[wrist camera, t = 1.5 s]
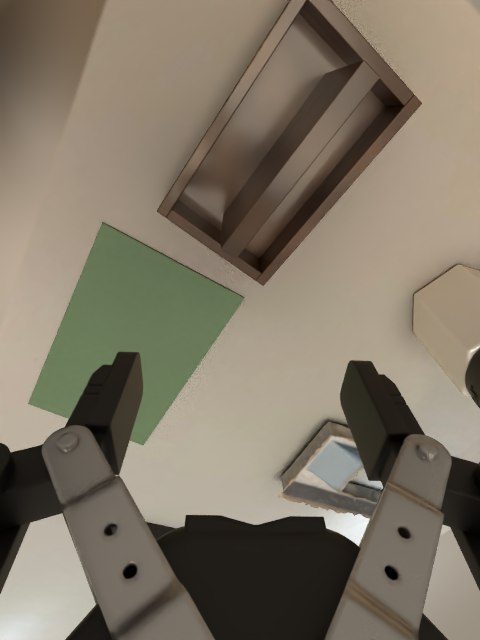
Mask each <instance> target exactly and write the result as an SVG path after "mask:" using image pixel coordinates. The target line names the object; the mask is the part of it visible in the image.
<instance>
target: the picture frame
mask: <svg viewBox="0 0 480 640" xmlns="http://www.w3.org/2000/svg"><path fill="white" fill-rule="evenodd" d="M363 468H364V466H363V463H362V461H361V458H360V455H359V452H358V450H357V447H356V444H355V442H354V439H353V436H352V433H351V431H350V428H347V427H344V426H343V425H338V424H335V423H332V422H328V423H327V424H326V425H325V426H324V427H323V428H322V429H321V431H319V433H318V434H317V435H316V437H315V438H314V439H313V440H312V442H311V443H310V444H309V445H308V446H307V447H306V448H305V450H304V451H303V452H302V453H301V455H300V456H299V457H298V458H297V459H296V460H295V462H294V463H293V464H292V466H291V467H290V468H289V469H288V470H287V471H286V472H285V474H284V475H283V476H282V484H283V492H282V493H280V494H279V495H278V497H282V498H285V499H287V500H288V501H292V502H297V503H302V502H304V503H306V504H305V505H309V504H310V506H311V507H315V508H318V507H321V508H324V509H326V510H327V511H328V509H331V510H334V511H335V512H337V513H347V512H349V513H353V515H354V516H355V515H357V514H362V515H363V516H364V517H366V518H371V516H372V513H373V511H374V508H375V506H376V504H377V501H378V499H379V496H380V494H381V492H380V491H376V490H373V489H369V488H366V487H362V486H360V485H355V484H351V483H349V481H352V480H353V478H354V477H355V476H357V474H358V471H360V470H362V469H363Z"/></svg>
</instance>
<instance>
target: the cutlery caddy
mask: <svg viewBox="0 0 480 640" xmlns="http://www.w3.org/2000/svg"><path fill="white" fill-rule="evenodd" d="M421 104H422V103H421V102H420V101H419V99H418V98H417V97H416V96H415V95H414V94H413V92H412V91H411V90H410V89H409V88H408V87H407V86H406V85H405V83H404V82H403V81H402V80H401V79H400V78H399V77H398V75H397V74H396V73H395V72H394V71H393V70H392V69H391V68H390V66H389V65H388V64H387V63H386V62H385V61H384V60H383V58H382V57H381V56H380V55H379V54H378V53H377V52H376V51H375V49H374V48H373V47H372V46H371V45H370V44H369V43H368V41H367V40H366V39H365V38H364V37H363V36H362V35H361V34H360V32H359V31H358V30H357V29H356V28H355V27H354V26H353V24H352V23H351V22H350V21H349V20H348V19H347V18H346V17H345V15H344V14H343V13H342V12H341V11H340V10H339V9H338V7H337V6H336V5H335V4H334V3H333V2H332V1H331V0H289V2H288V4H287V5H286V7H285V8H284V10H283V12H282V13H281V15H280V16H279V18H278V19H277V21H276V23H275V24H274V26H273V27H272V29H271V31H270V32H269V34H268V35H267V37H266V39H265V40H264V42H263V43H262V45H261V46H260V48H259V50H258V51H257V53H256V54H255V56H254V58H253V59H252V61H251V62H250V64H249V65H248V67H247V69H246V70H245V72H244V73H243V75H242V77H241V78H240V80H239V81H238V83H237V84H236V86H235V88H234V89H233V91H232V92H231V94H230V96H229V97H228V99H227V100H226V102H225V104H224V105H223V107H222V108H221V110H220V111H219V113H218V115H217V116H216V118H215V119H214V121H213V123H212V124H211V126H210V127H209V129H208V130H207V132H206V134H205V135H204V137H203V138H202V140H201V142H200V143H199V145H198V146H197V148H196V149H195V151H194V153H193V154H192V156H191V157H190V159H189V161H188V162H187V164H186V165H185V167H184V169H183V170H182V172H181V173H180V175H179V176H178V178H177V180H176V181H175V183H174V184H173V186H172V188H171V189H170V191H169V192H168V194H167V195H166V197H165V199H164V200H163V202H162V203H161V205H160V207H159V208H158V210H157V212H159V213H160V214H161V215H163V216H164V217H166V218H167V219H168V220H170V221H171V222H173V223H174V224H175V225H177V226H178V227H180V228H181V229H183V230H184V231H185V232H187V233H188V234H190V235H191V236H193V237H194V238H195V239H197V240H198V241H200V242H201V243H203V244H204V245H205V246H207V247H208V248H210V249H211V250H213V251H214V252H215V253H217V254H218V255H220V256H221V257H223V258H224V259H225V260H227V261H228V262H230V263H231V264H233V265H234V266H235V267H237V268H238V269H240V270H241V271H243V272H244V273H245V274H247V275H248V276H250V277H251V278H253V279H254V280H256V281H257V282H258V283H260V284H261V285H264V284H265V283H266V282H267V281H268V280H269V279H270V278H271V276H272V275H273V274H274V273H275V272H276V271H277V269H278V268H279V267H280V266H281V265H282V264H283V263H284V261H285V260H286V259H287V258H288V257H289V256H290V255H291V253H292V252H293V251H294V250H295V249H296V248H297V247H298V245H299V244H300V243H301V242H302V241H303V240H304V238H305V237H306V236H307V235H308V234H309V233H310V232H311V230H312V229H313V228H314V227H315V226H316V225H317V224H318V222H319V221H320V220H321V219H322V218H323V217H324V216H325V214H326V213H327V212H328V211H329V210H330V209H331V207H332V206H333V205H334V204H335V203H336V202H337V201H338V199H339V198H340V197H341V196H342V195H343V194H344V193H345V191H346V190H347V189H348V188H349V187H350V186H351V185H352V183H353V182H354V181H355V180H356V179H357V178H358V176H359V175H360V174H361V173H362V172H363V171H364V170H365V168H366V167H367V166H368V165H369V164H370V163H371V162H372V160H373V159H374V158H375V157H376V156H377V155H378V154H379V152H380V151H381V150H382V149H383V148H384V147H385V145H386V144H387V143H388V142H389V141H390V140H391V139H392V137H393V136H394V135H395V134H396V133H397V132H398V131H399V129H400V128H401V127H402V126H403V125H404V124H405V123H406V121H407V120H408V119H409V118H410V117H411V116H412V114H413V113H414V112H415V111H416V110H417V109H418V108H419V106H420V105H421Z"/></svg>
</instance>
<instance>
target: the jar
mask: <svg viewBox="0 0 480 640" xmlns="http://www.w3.org/2000/svg"><path fill="white" fill-rule="evenodd" d="M413 333H414V334H415V336H416V337H417V338H418V339H419V341H420V342H421V343H422V344H423V346H424V347H425V348H426V349H427V351H428V352H429V353H430V354H431V356H432V357H433V358H434V359H435V361H436V362H437V363H438V365H439V366H440V367H441V368H442V370H443V371H444V372H445V373H446V375H447V376H448V377H449V378H450V380H451V381H452V382H453V383H454V385H455V386H456V387H457V388H458V390H459V391H460V392H461V393H462V394H463V395H465V396H469V397H472V399H473V400H474V402H475V403H476V404H477V405H478V407H479V408H480V271H478V270H475V269H472V268H469V267H466V266H463V265H456V266H455V267H453V268H452V269H450V270H449V271H447V272H446V273H444V274H443V275H442V276H440V277H439V278H437V279H436V280H434V281H433V282H431V283H430V284H428V285H427V286H426V287H424V288H423V289H421V290H420V291H418V292H417V293H415V294H414V311H413Z"/></svg>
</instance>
